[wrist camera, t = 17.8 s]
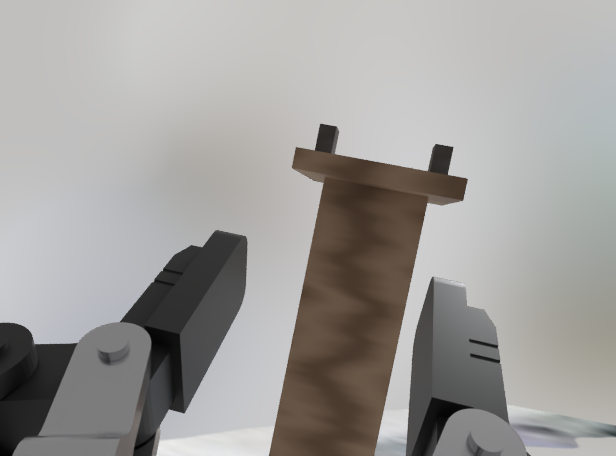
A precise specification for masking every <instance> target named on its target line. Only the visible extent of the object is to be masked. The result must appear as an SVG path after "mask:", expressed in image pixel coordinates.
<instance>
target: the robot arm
mask: <svg viewBox="0 0 616 456" xmlns="http://www.w3.org/2000/svg"><path fill="white" fill-rule="evenodd" d="M246 266H247V238H246V236H242V235H237V234H233V233H228V232H223V231H219V230H216V231H215V232H214V233H213V234H212V236H211V237H210V238H209V240H208V241H207V242H206V244H205V245H204V246H203V247H197V246H193V245H191V246H189V247H188V248H186V249H184V250H182V251H181V252H179V253H177V254H175V255H174V256H173V257H172V259H171V260H170V261H169V262H168V264H167V265H166V266H165V267H164V269H163V271H161V272H160V273H159V275H158V276H157V277H156V278H155V281H154V282H153V283H151V284H150V286H149V287H148V288H147V289H146V290H145V292H144V293H143V294H142V296H141V297H140V298H139V299H138V300H137V302H136V303H135V304H134V305H133V307H132V308H131V309H130V310H129V311H128V313H127V314H126V315H125V316H124V318H123V319H122V320H121V321H120V322H118V323H110V324H106V325H102V326H100V327H97V328H95V329H93V330H92V331H90V332H89V333H87V334H86V335H85V336H84V337H83V338H82V339H81V340H80V341H79V342H78V343H74V344H34V340H33V337H32V334H31V332H30V331H29V330H28V329H27V328H25V327H24V326H21V325H18V324H15V323H0V456H156V454H157V449H158V443H159V438H160V424H161V422H162V421H163V419H164V417H165V415H166V413H167V412H168V410H169V409H170V410H174V411H177V412H181V413H185V411H186V410H187V408H188V406H189V404H190V402H191V400H192V398H193V396H194V394H195V393H196V391H197V389H198V387H199V385H200V383H201V381H202V379H203V377H204V375H205V374H206V372H207V370H208V368H209V366H210V364H211V362H212V360H213V359H214V357H215V355H216V353H217V351H218V349H219V347H220V345H221V343H222V341H223V340H224V338H225V336H226V334H227V332H228V330H229V328H230V326H231V324H232V323H233V321H234V319H235V317H236V315H237V313H238V311H239V309H240V307H241V304H242V301H243V298H244V294H245V287H246ZM406 456H531V455H529V454H528V453H527V452H526V449H525V446H524V444H523V441H522V439H521V438H520V436H519V435H518V433H517V432H516V431H515V430H514V429H513V428H512V427H511V426H510V424H509V420H508V413H507V406H506V398H505V391H504V384H503V377H502V369H501V364H500V355H499V349H498V341H497V333H496V327H495V326H494V324H493V323H492V321H491V320H490V318H489V316H488V315H487V313H486V312H485V310H483V309H478V308H473V307H469V306H467V301H466V287H465V284H464V283H461V282H456V281H451V280H446V279H442V278H437V277H432V279H431V281H430V284H429V288H428V291H427V294H426V298H425V301H424V305H423V308H422V311H421V315H420V318H419V322H418V325H417V329H416V334H415V339H414V346H413V357H412V372H411V387H410V402H409V417H408V432H407V447H406Z"/></svg>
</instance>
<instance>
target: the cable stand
mask: <svg viewBox="0 0 616 456" xmlns="http://www.w3.org/2000/svg"><path fill="white" fill-rule="evenodd" d="M338 134H339V131H338V128H337V127H336V126H330V125H324V124H320V128H319V133H318V138H317V143H316V148H315V151H314V150H309V149H303V148H297V147H296V150H295V155H294V160H293V165H292V168H293V169H295V170H296V171H298V172H300V173H302V174H303V175H305V176H307V177H309V178H310V179H312V180H314V181H318V182H323V183H324V184H323V189H322V195H321V199H320V204H319V209H318V214H317V219H316V224H315V229H314V234H313V239H312V244H311V249H310V254H309V259H308V264H307V269H306V274H305V279H304V284H303V289H302V294H301V299H300V304H299V309H298V314H297V319H296V324H295V329H294V334H293V339H292V344H291V349H290V354H289V359H288V364H287V369H286V374H285V379H284V384H283V389H282V394H281V399H280V404H279V409H278V414H277V419H276V423H275V428H274V433H273V438H272V443H271V448H270V453H269V456H374V453H375V448H376V444H377V439H378V434H379V430H380V425H381V420H382V415H383V411H384V406H385V401H386V396H387V392H388V387H389V382H390V377H391V372H392V368H393V363H394V358H395V353H396V348H397V344H398V339H399V335H400V330H401V325H402V320H403V316H404V311H405V306H406V301H407V296H408V292H409V287H410V282H411V278H412V273H413V268H414V264H415V259H416V254H417V249H418V244H419V239H420V235H421V230H422V226H423V221H424V216H425V211H426V206H427V203H432V204H437V205H445V204H450V203H454V202H459V201H463V199H464V194H465V189H466V184H467V180H468V179H466V178H461V177H456V176H450V175H448V170H449V165H450V161H451V156H452V152H453V147H449V146H444V145H438V144H436V145H435V146H434V147H433V150H432V155H431V160H430V164H429V169H428V171H423V170H417V169H412V168H406V167H401V166H396V165H390V164H385V163H379V162H374V161H368V160H363V159H357V158H352V157H346V156H341V155H336V154H335V149H336V144H337V139H338Z"/></svg>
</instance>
